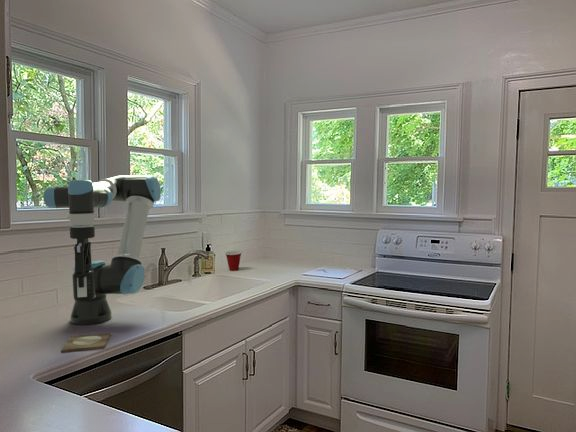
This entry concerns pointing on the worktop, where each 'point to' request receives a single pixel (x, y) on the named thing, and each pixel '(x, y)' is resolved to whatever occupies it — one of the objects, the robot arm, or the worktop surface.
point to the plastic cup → (233, 259)
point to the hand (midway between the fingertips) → (84, 294)
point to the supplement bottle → (89, 281)
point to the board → (86, 342)
